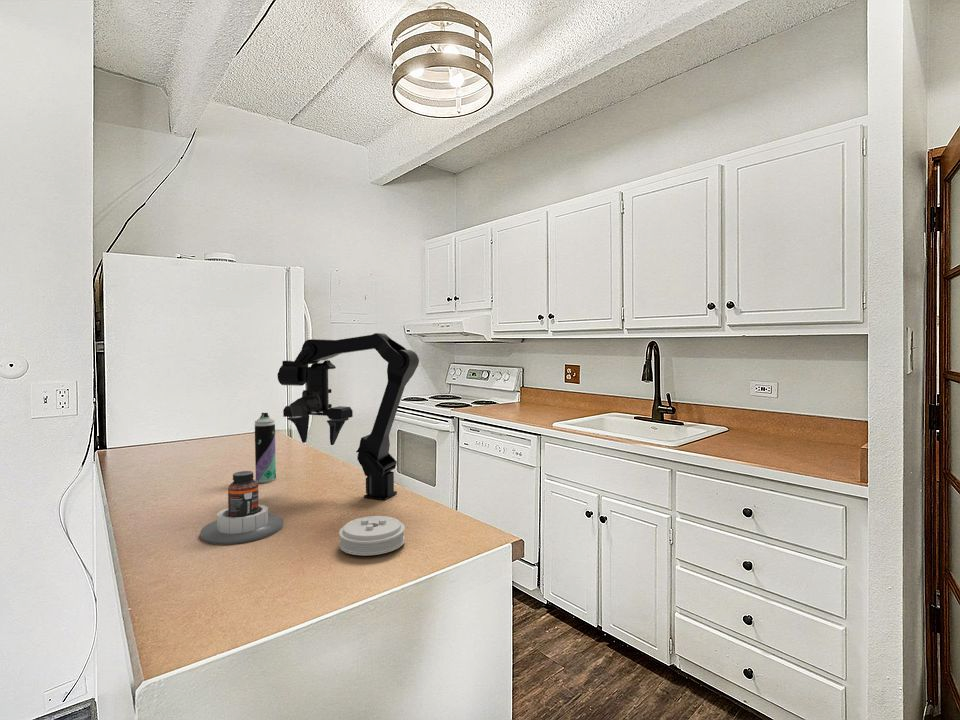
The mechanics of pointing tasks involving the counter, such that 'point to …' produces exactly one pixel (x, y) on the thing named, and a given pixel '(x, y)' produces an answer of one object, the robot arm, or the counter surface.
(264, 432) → the spray can
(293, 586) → the counter surface
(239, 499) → the supplement bottle
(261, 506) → the ring mount
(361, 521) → the lid
